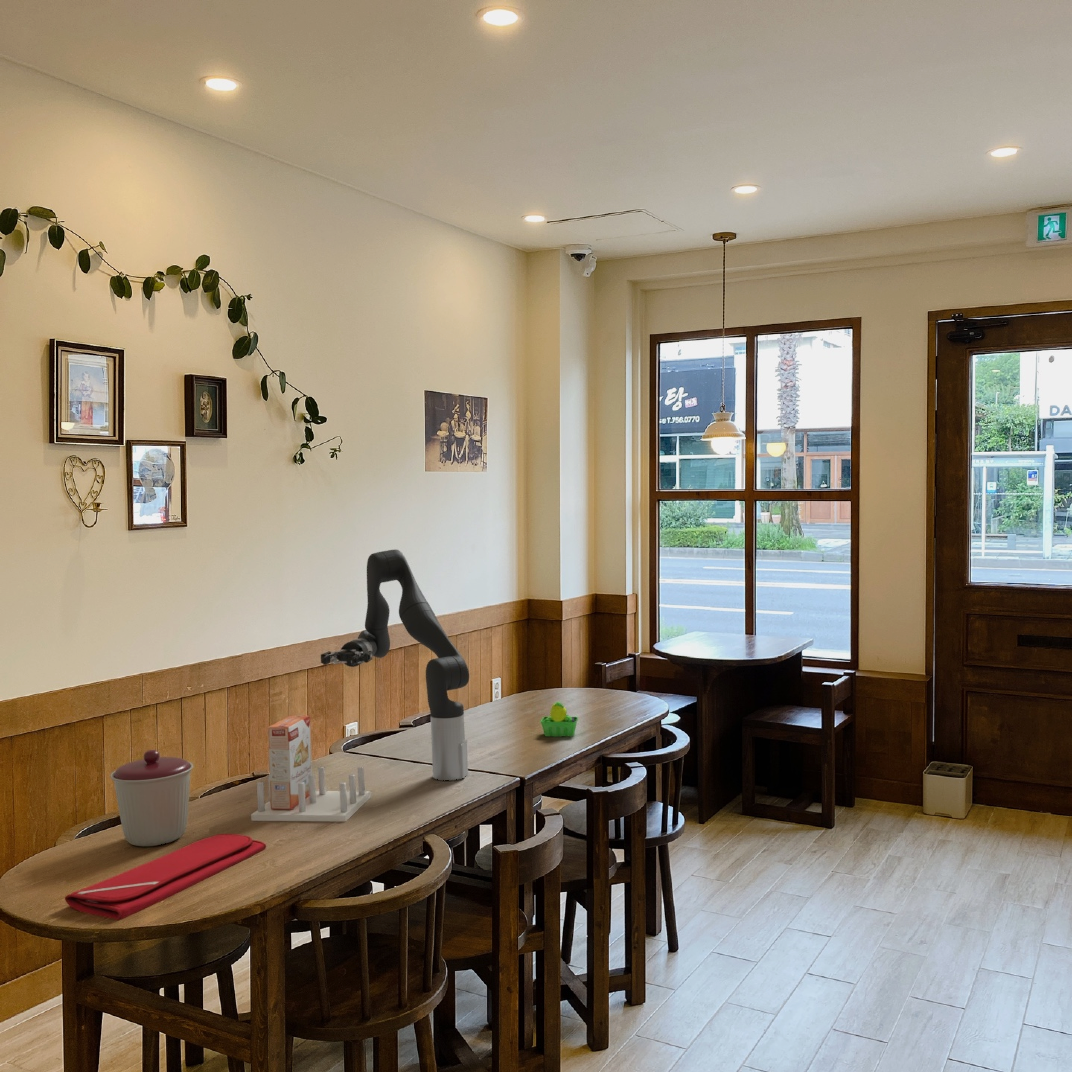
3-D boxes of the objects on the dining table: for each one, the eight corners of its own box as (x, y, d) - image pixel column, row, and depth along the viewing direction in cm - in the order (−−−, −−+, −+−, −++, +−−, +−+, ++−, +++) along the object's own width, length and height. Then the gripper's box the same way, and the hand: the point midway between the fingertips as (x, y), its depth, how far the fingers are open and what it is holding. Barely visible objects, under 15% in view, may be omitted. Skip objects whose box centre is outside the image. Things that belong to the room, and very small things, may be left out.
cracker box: (293, 810, 249) (289, 726, 248) (270, 810, 250) (265, 726, 249) (314, 793, 263) (310, 714, 262) (292, 793, 264) (288, 714, 263)
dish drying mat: (268, 851, 227) (267, 834, 227) (121, 923, 190) (120, 903, 190) (214, 843, 234) (213, 827, 233) (63, 911, 197) (62, 892, 196)
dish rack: (370, 796, 264) (369, 764, 263) (345, 821, 244) (344, 786, 244) (283, 796, 267) (281, 764, 267) (251, 820, 247) (249, 786, 247)
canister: (109, 836, 239) (104, 748, 239) (188, 822, 248) (184, 737, 247) (119, 859, 224) (114, 764, 223) (203, 842, 232) (199, 751, 232)
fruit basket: (579, 732, 327) (577, 697, 327) (575, 738, 319) (574, 703, 318) (544, 731, 329) (543, 697, 329) (539, 738, 321) (538, 703, 320)
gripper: (333, 640, 304) (313, 648, 288) (379, 639, 302) (362, 647, 286) (334, 664, 305) (315, 674, 289) (380, 664, 303) (363, 673, 287)
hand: (338, 661), depth 287 cm, fingers open, 8 cm apart
